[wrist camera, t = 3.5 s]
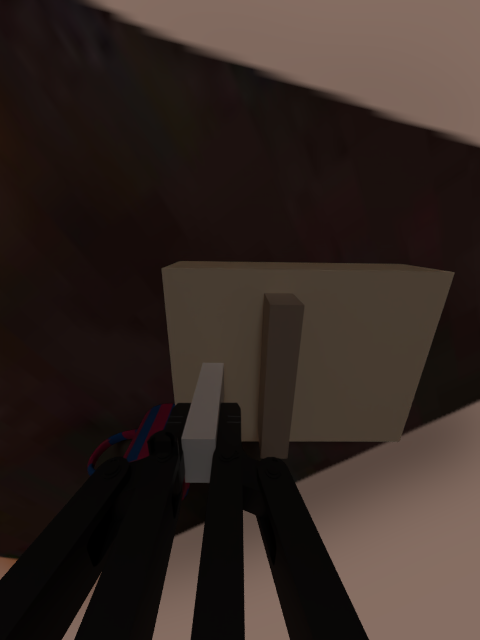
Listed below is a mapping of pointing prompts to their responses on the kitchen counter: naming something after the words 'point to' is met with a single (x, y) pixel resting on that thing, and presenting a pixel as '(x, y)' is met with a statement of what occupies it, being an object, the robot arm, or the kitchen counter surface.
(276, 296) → the lid
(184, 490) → the mug
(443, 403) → the kitchen counter surface
